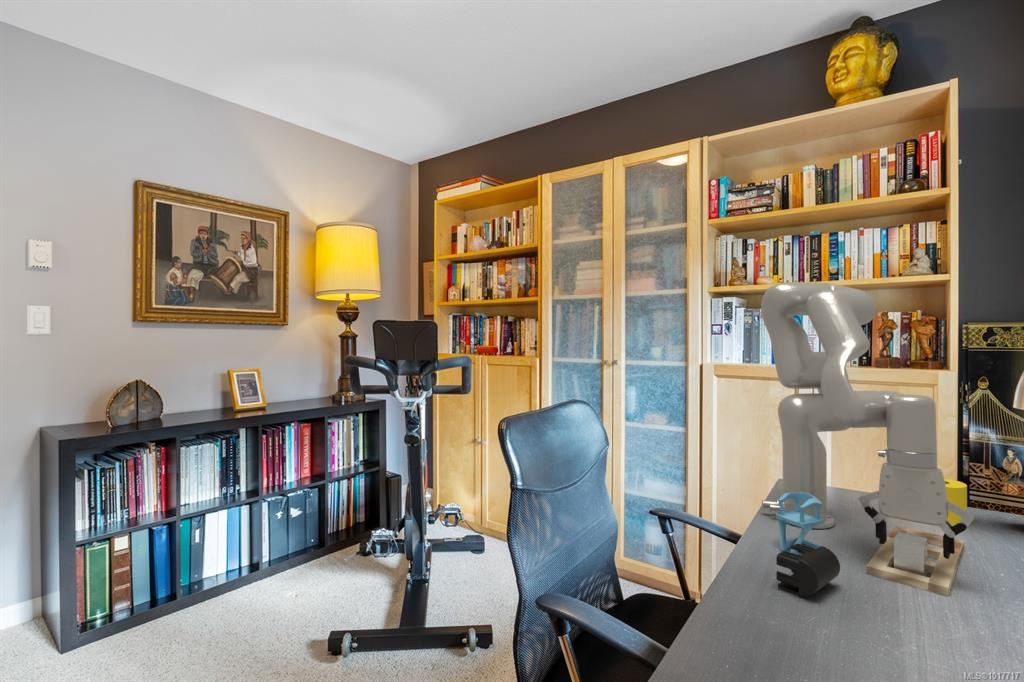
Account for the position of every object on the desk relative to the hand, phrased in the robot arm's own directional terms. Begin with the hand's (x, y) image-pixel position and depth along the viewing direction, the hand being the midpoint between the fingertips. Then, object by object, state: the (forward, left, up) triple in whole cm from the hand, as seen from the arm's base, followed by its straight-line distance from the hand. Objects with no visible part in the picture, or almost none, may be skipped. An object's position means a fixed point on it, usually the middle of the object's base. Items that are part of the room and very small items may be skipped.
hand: (913, 549), depth 96 cm
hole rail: (+4, +8, -5) cm, 11 cm away
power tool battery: (-21, -11, -5) cm, 24 cm away
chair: (-18, +7, -5) cm, 20 cm away
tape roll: (+21, +37, -5) cm, 43 cm away
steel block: (0, +1, -5) cm, 5 cm away
